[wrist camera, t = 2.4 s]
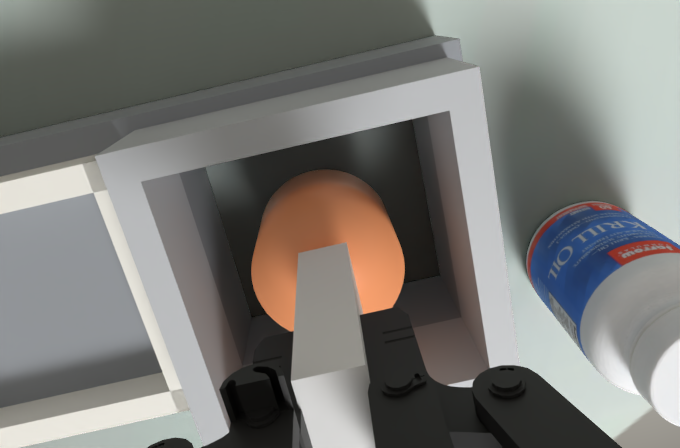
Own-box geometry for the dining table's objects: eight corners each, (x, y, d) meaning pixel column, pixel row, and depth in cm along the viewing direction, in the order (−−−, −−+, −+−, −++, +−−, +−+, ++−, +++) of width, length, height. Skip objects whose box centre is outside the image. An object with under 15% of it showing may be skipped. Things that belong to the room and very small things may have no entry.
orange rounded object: (278, 302, 23) (273, 353, 20) (245, 186, 22) (232, 219, 18) (400, 275, 23) (416, 322, 20) (375, 156, 22) (388, 183, 18)
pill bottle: (603, 174, 26) (767, 260, 17) (657, 262, 27) (833, 386, 18) (499, 245, 27) (599, 364, 17) (557, 326, 28) (677, 476, 19)
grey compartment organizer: (28, 396, 28) (-76, 535, 20) (-88, 158, 24) (-271, 222, 16) (476, 296, 27) (539, 402, 20) (435, 35, 23) (495, 43, 16)
